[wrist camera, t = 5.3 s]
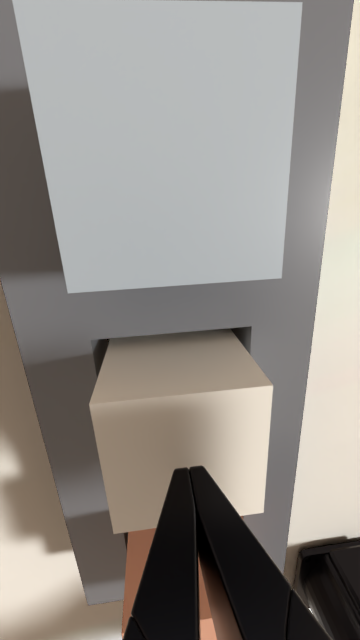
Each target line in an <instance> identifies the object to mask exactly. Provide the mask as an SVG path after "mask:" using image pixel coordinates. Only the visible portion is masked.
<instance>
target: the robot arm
mask: <svg viewBox="0 0 360 640" xmlns="http://www.w3.org/2000/svg"><path fill="white" fill-rule="evenodd" d="M198 557H199V563H200V567H201V572H202V576H203V581H204V585H205V589H206V594H207V598H208V602H209V607H210V611H211V615H212V620H213V624H214V628H215V633H216V637H217V640H360V541H355V542H349V543H342V544H336V545H330V546H323V547H317V548H310V549H305V550H302V551H301V552H300V553H299V555H298V562H297V568H296V575H295V582H294V589H292V590H291V588H292V587H291V584H290V583H289V582H288V580H287V579H286V578H285V576H284V575H283V573H282V572H281V571H280V569H279V568H278V567H277V565H276V564H275V563H274V561H273V560H272V558H271V557H270V556H269V554H268V553H267V552H266V550H265V549H264V548H263V546H262V545H261V543H260V542H259V541H258V539H257V538H256V537H255V535H254V534H253V533H252V531H251V530H250V528H249V527H248V526H247V524H246V523H245V522H244V520H243V519H242V518H241V516H240V515H239V513H238V512H237V511H236V509H235V508H234V507H233V505H232V504H231V503H230V501H229V500H228V498H227V497H226V496H225V494H224V493H223V492H222V490H221V489H220V488H219V486H218V485H217V483H216V482H215V481H214V479H213V478H212V477H211V475H210V474H209V473H208V471H207V470H206V468H205V467H204V466H202V465H200V466H192V467H190V468H189V469H188V468H187V467H184V468H176V469H174V471H173V474H172V477H171V481H170V484H169V487H168V491H167V494H166V497H165V501H164V504H163V507H162V510H161V514H160V517H159V520H158V524H157V527H156V530H155V534H154V537H153V540H152V544H151V547H150V550H149V554H148V557H147V560H146V564H145V567H144V570H143V574H142V577H141V580H140V584H139V587H138V590H137V593H136V597H135V600H134V603H133V607H132V610H131V616H130V617H129V619H128V623H127V626H126V629H125V633H124V636H123V639H122V640H201V628H200V595H199V564H198ZM308 608H311V611H312V613H313V614H312V613H311V611H310V610H309V609H308Z"/></svg>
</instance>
